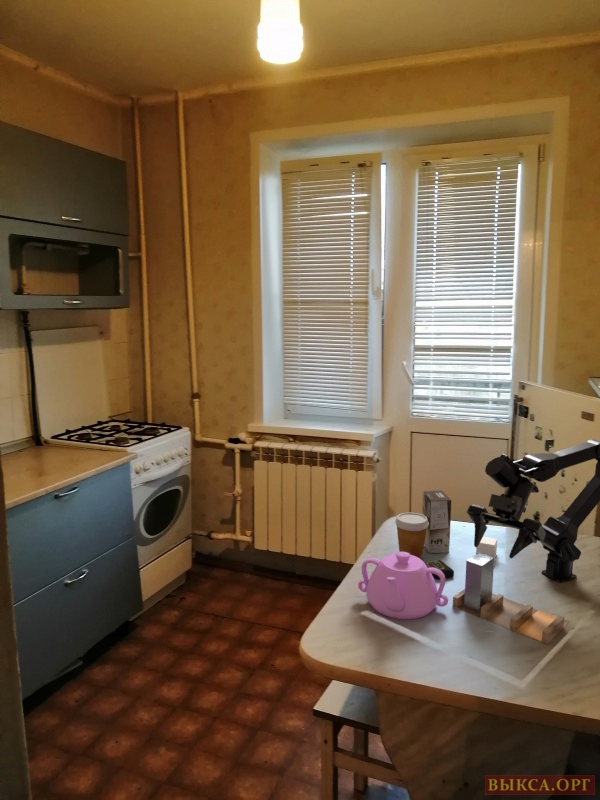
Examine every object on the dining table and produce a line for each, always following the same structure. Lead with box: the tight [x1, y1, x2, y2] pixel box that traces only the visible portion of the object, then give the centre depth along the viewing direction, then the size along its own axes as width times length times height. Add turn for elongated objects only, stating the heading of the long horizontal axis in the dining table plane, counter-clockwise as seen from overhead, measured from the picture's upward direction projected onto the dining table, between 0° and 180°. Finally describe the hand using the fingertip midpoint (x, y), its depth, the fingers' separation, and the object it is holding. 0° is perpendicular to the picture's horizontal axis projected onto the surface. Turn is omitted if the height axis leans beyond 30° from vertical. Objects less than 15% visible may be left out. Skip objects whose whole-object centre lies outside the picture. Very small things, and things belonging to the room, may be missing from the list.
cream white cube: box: [475, 536, 498, 560], centre depth 176 cm, size 5×5×5 cm
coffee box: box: [421, 490, 452, 554], centre depth 181 cm, size 9×6×16 cm
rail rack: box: [452, 588, 570, 645], centre depth 143 cm, size 12×23×4 cm, turn 46°
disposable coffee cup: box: [394, 512, 429, 560], centre depth 174 cm, size 10×10×12 cm
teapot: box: [357, 551, 449, 620], centre depth 145 cm, size 22×22×14 cm
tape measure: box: [425, 559, 455, 581], centre depth 163 cm, size 7×7×4 cm
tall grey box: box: [464, 553, 495, 613], centre depth 146 cm, size 6×4×12 cm, turn 136°
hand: (492, 552), depth 149 cm, fingers open, 9 cm apart
